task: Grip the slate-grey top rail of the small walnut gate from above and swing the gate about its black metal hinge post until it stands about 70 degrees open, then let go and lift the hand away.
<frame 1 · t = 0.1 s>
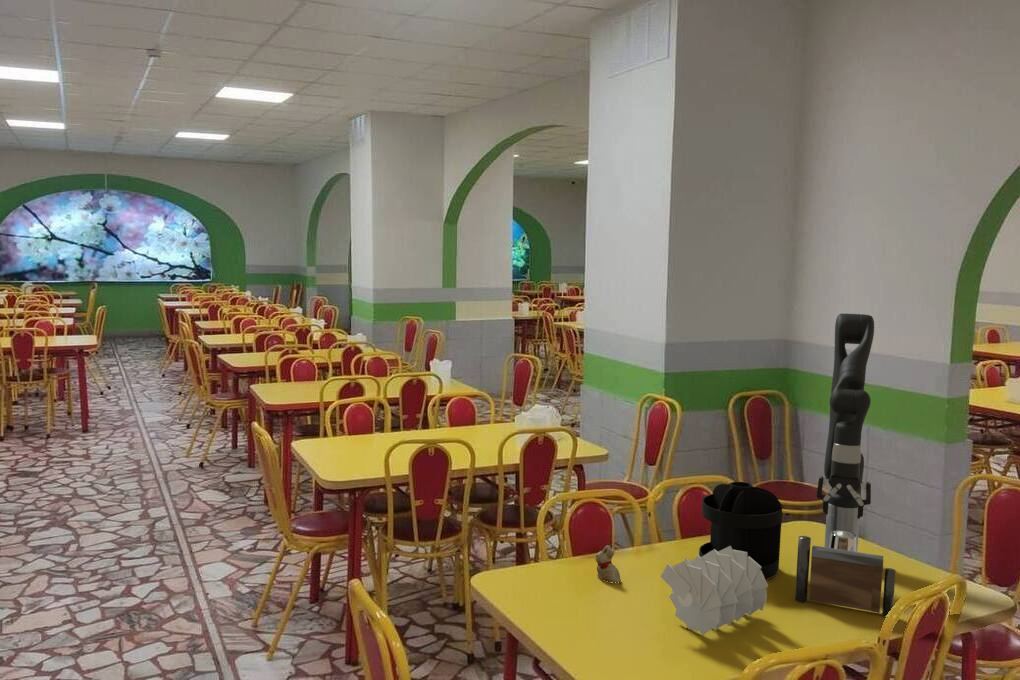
hand: (842, 516, 242), 17 cm above the table, tool pointing down, fingers open, 8 cm apart
container: (736, 569, 246), on the table
gate posts: (800, 600, 224), on the table
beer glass: (839, 587, 234), on the table
gate: (845, 578, 219), point 8 cm above the table, hinge at 0.0°
chocolate bunny: (608, 579, 236), on the table
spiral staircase: (715, 623, 209), on the table
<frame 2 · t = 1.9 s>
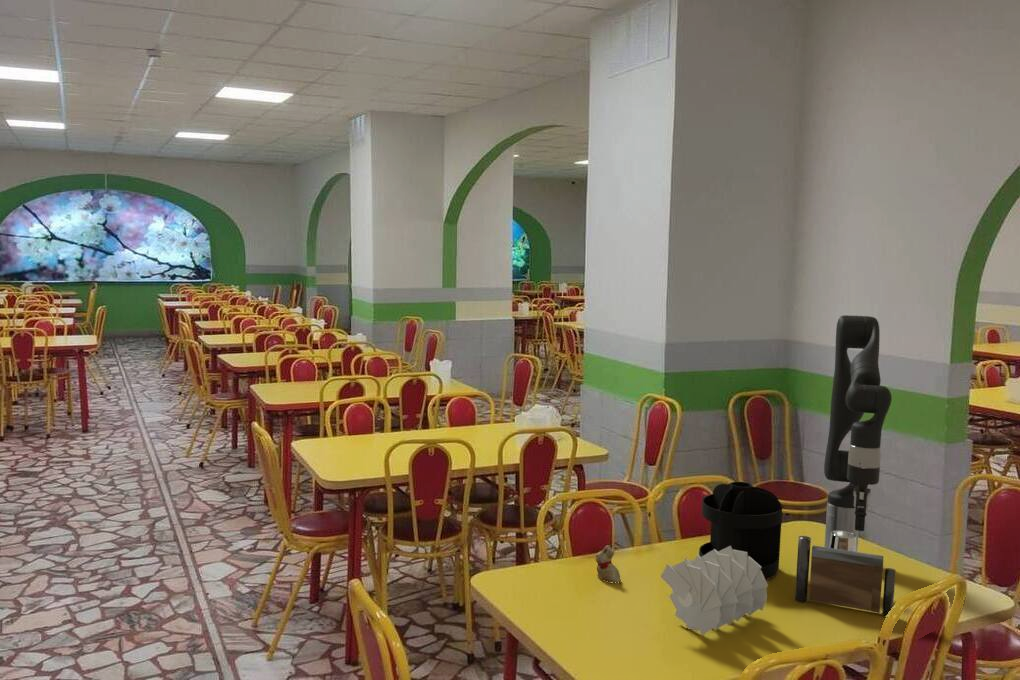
hand: (859, 525, 217), 22 cm above the table, tool pointing down, fingers open, 8 cm apart
nothing on the table moved.
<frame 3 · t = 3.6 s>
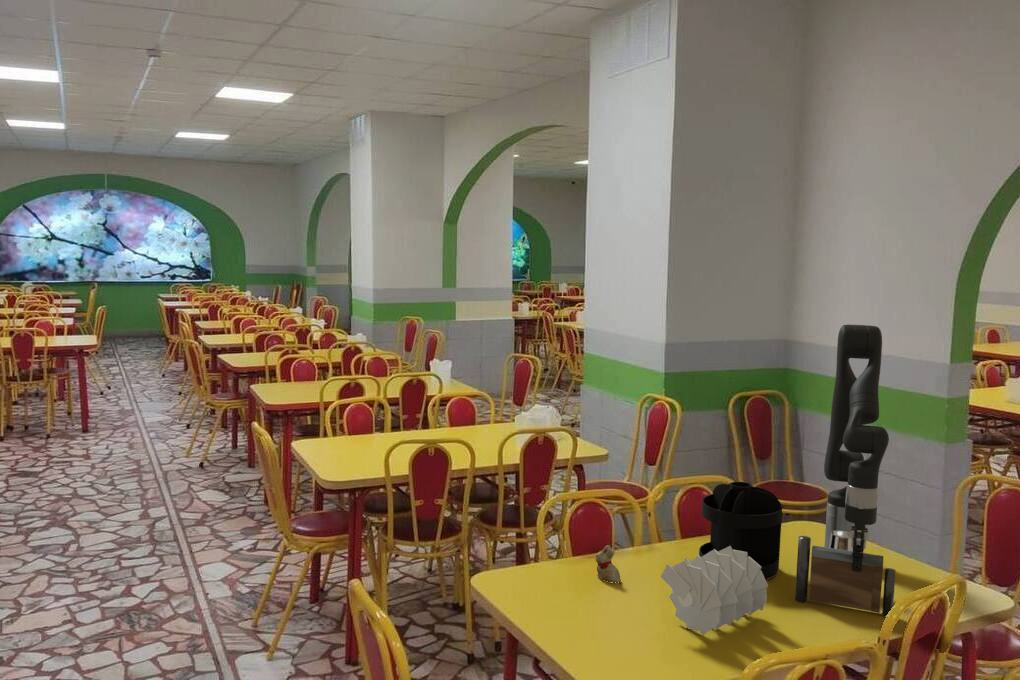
hand: (856, 568, 218), 11 cm above the table, tool pointing down, fingers closed on gate, 3 cm apart
gate: (845, 578, 219), point 8 cm above the table, hinge at 0.0°, touching gripper
everything else where it was.
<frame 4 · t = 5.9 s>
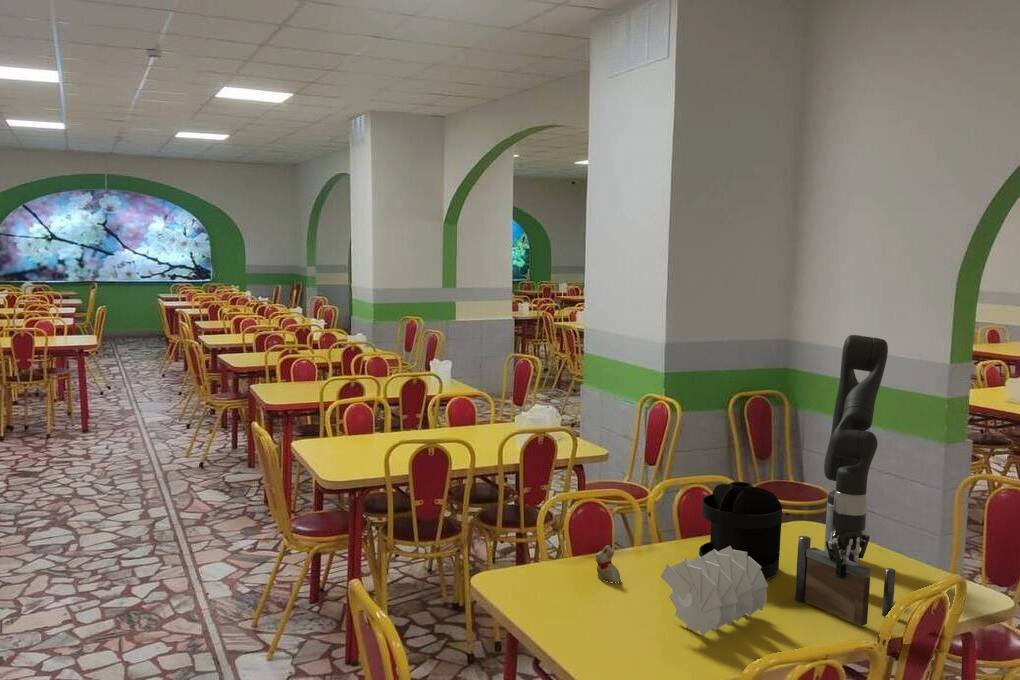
hand: (845, 576, 212), 11 cm above the table, tool pointing down, fingers closed on gate, 3 cm apart
gate: (836, 585, 215), point 8 cm above the table, hinge at 35.4°, touching gripper
everything else where it was.
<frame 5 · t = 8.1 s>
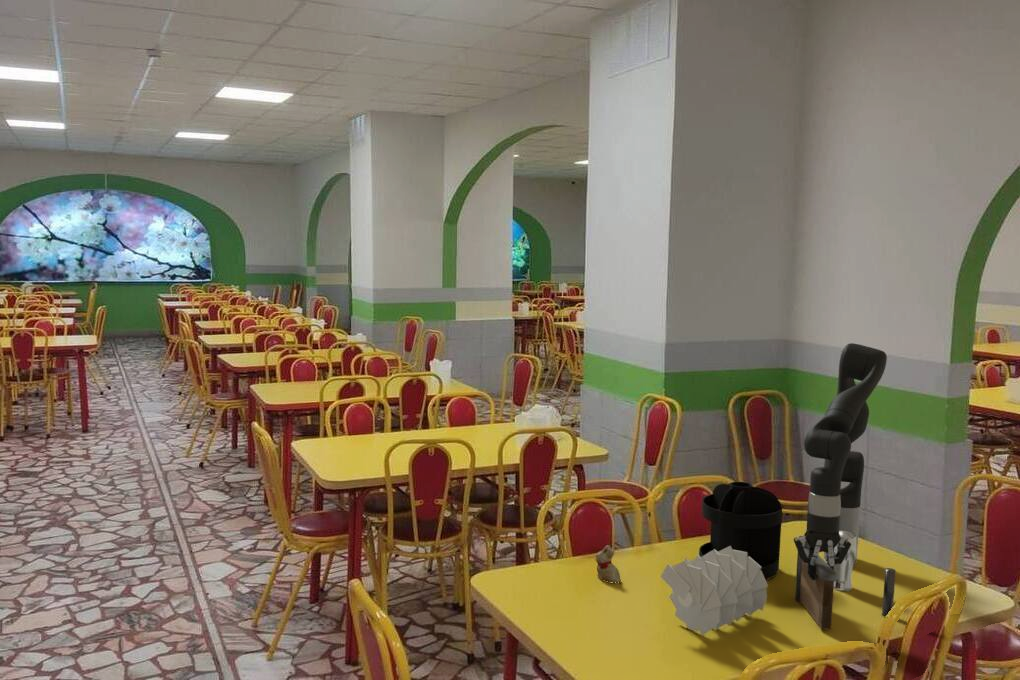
hand: (820, 578, 210), 11 cm above the table, tool pointing down, fingers closed on gate, 3 cm apart
gate: (815, 587, 213), point 8 cm above the table, hinge at 67.9°, touching gripper
everything else where it was.
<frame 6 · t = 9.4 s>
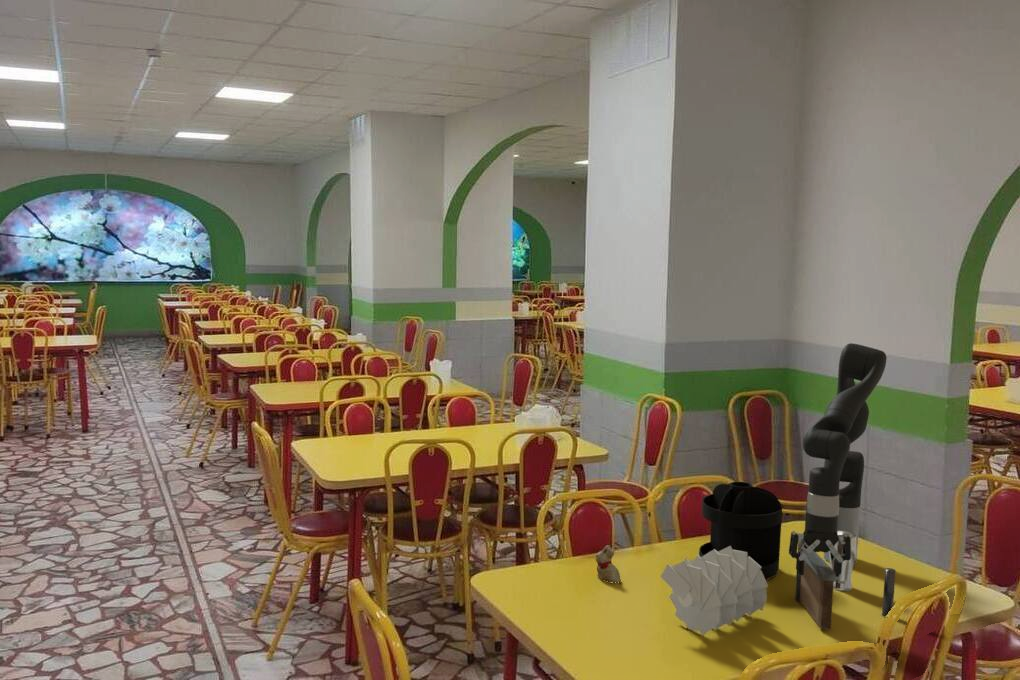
hand: (818, 574, 210), 12 cm above the table, tool pointing down, fingers open, 8 cm apart
gate: (815, 587, 213), point 8 cm above the table, hinge at 68.1°
everything else where it was.
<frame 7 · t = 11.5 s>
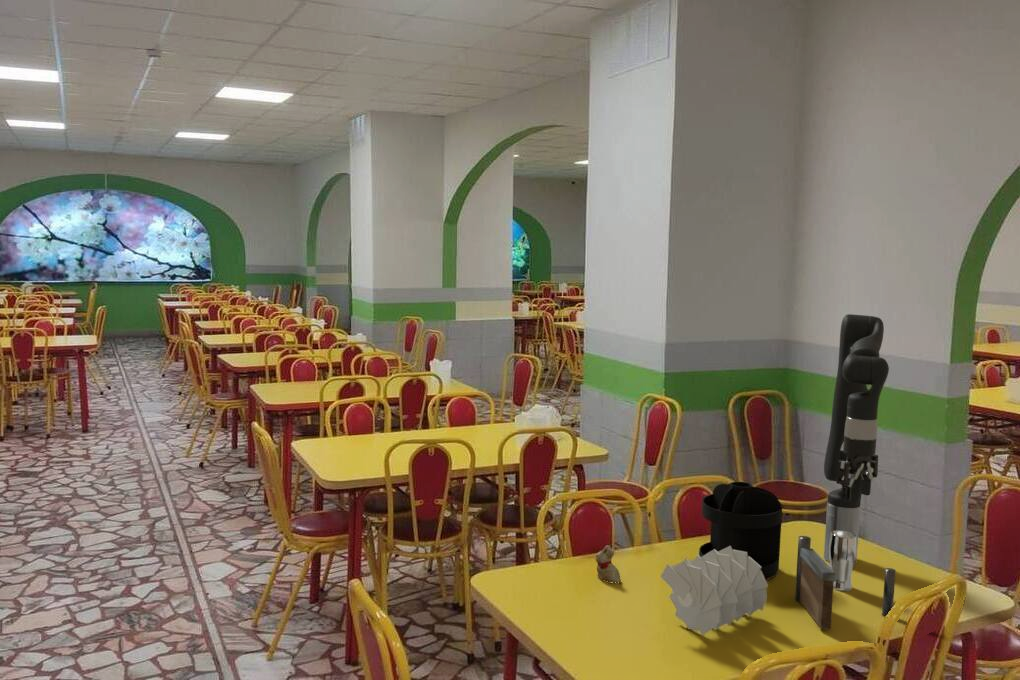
hand: (855, 497, 216), 30 cm above the table, tool pointing down, fingers open, 8 cm apart
nothing on the table moved.
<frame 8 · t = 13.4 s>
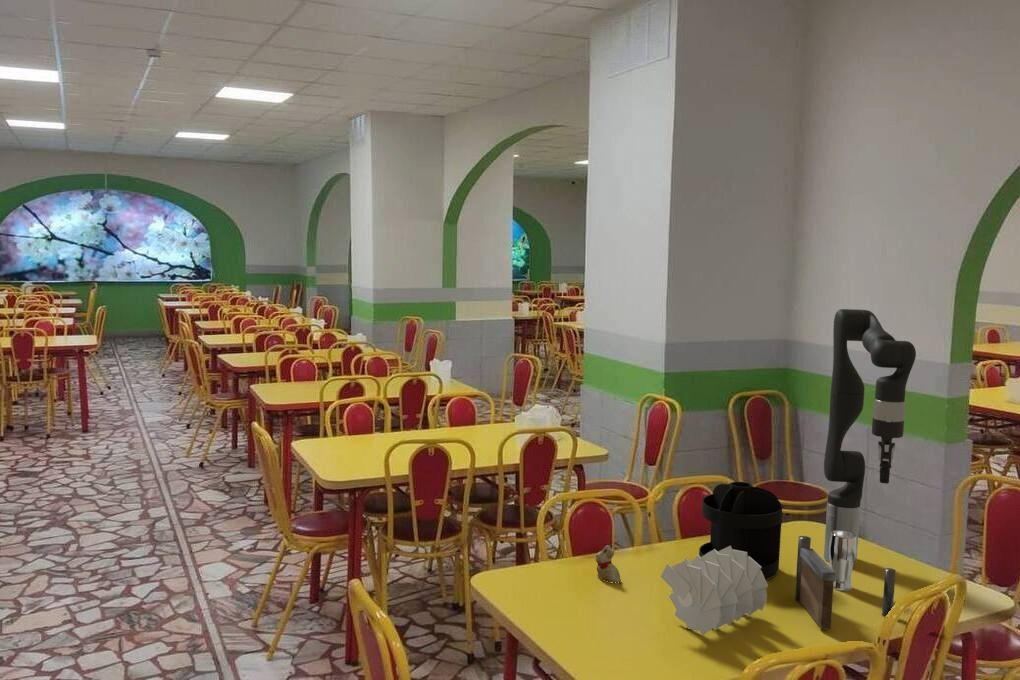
hand: (884, 479, 221), 33 cm above the table, tool pointing down, fingers open, 8 cm apart
nothing on the table moved.
at the end: gate at +68° (first picture: +0°); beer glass moved 0.2 cm from its start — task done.
